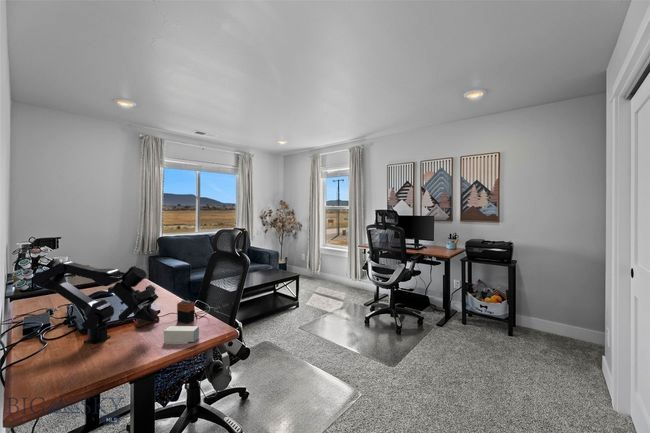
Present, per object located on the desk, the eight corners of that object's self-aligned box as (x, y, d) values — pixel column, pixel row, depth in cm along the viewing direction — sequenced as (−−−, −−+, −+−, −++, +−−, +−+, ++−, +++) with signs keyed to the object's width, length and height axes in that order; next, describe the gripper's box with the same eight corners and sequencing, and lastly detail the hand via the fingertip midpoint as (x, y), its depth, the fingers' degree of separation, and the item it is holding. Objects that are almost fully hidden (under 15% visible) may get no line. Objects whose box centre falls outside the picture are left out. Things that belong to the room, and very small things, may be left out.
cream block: (163, 330, 118) (194, 330, 118) (169, 326, 123) (198, 326, 123) (163, 341, 118) (194, 341, 119) (169, 336, 123) (198, 336, 123)
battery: (187, 324, 137) (187, 303, 136) (176, 322, 139) (176, 301, 138) (194, 320, 141) (194, 300, 140) (184, 318, 143) (184, 298, 143)
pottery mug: (165, 321, 140) (160, 310, 136) (147, 337, 133) (141, 325, 129) (148, 311, 145) (144, 300, 140) (130, 325, 138) (124, 314, 133)
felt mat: (164, 344, 117) (164, 343, 117) (172, 336, 124) (172, 335, 124) (186, 344, 117) (186, 343, 117) (194, 336, 124) (194, 335, 124)
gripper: (126, 287, 110) (155, 317, 111) (154, 275, 129) (179, 300, 129) (105, 307, 110) (134, 336, 111) (136, 292, 129) (161, 317, 130)
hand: (154, 321), depth 120 cm, fingers closed
